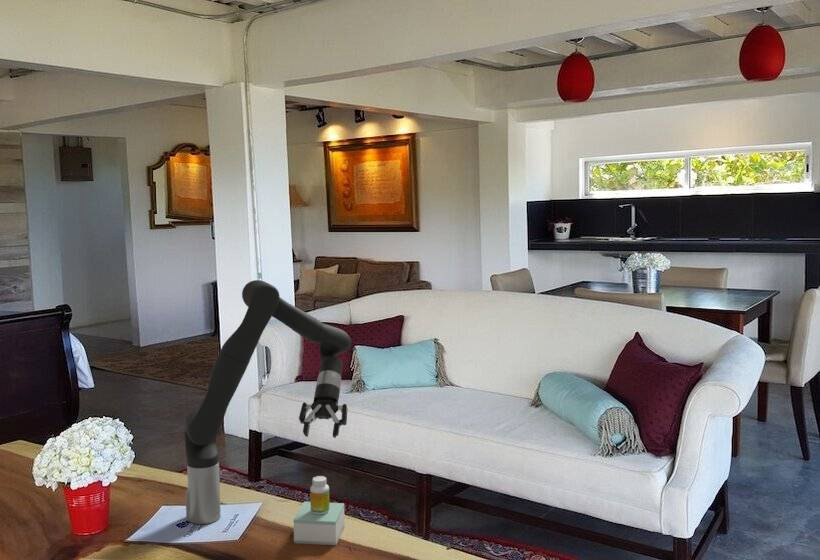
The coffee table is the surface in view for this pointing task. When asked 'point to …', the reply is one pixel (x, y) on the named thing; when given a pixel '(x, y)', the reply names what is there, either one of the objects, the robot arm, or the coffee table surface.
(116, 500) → the coffee table surface
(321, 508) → the supplement bottle
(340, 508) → the lid
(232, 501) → the coffee table surface
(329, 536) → the storage box
